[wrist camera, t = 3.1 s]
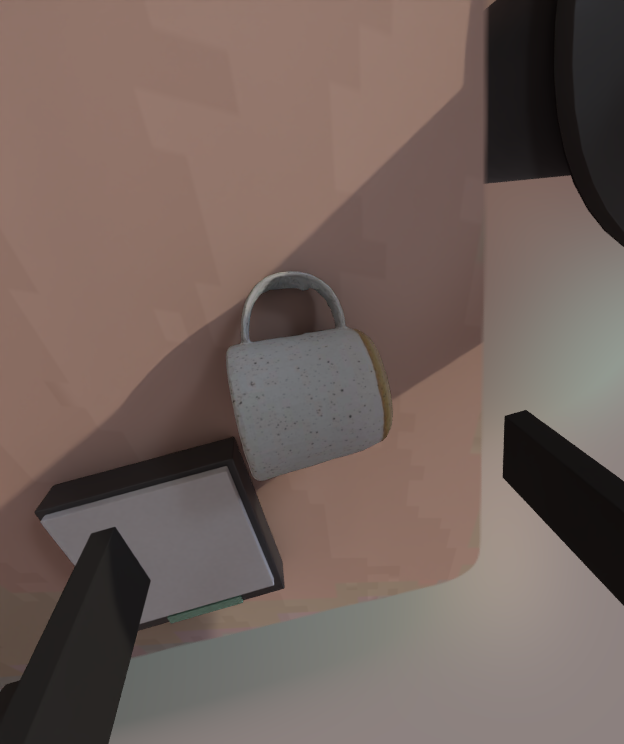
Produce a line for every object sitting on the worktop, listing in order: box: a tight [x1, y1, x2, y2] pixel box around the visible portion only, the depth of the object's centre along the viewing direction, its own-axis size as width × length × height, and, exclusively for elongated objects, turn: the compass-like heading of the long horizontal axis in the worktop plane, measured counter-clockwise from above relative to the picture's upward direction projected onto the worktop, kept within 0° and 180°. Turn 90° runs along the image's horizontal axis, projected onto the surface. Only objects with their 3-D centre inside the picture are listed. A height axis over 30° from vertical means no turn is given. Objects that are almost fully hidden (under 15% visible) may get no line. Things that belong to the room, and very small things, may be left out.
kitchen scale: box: [35, 437, 284, 631], centre depth 27 cm, size 13×14×3 cm
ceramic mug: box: [226, 271, 393, 481], centre depth 20 cm, size 11×8×8 cm
